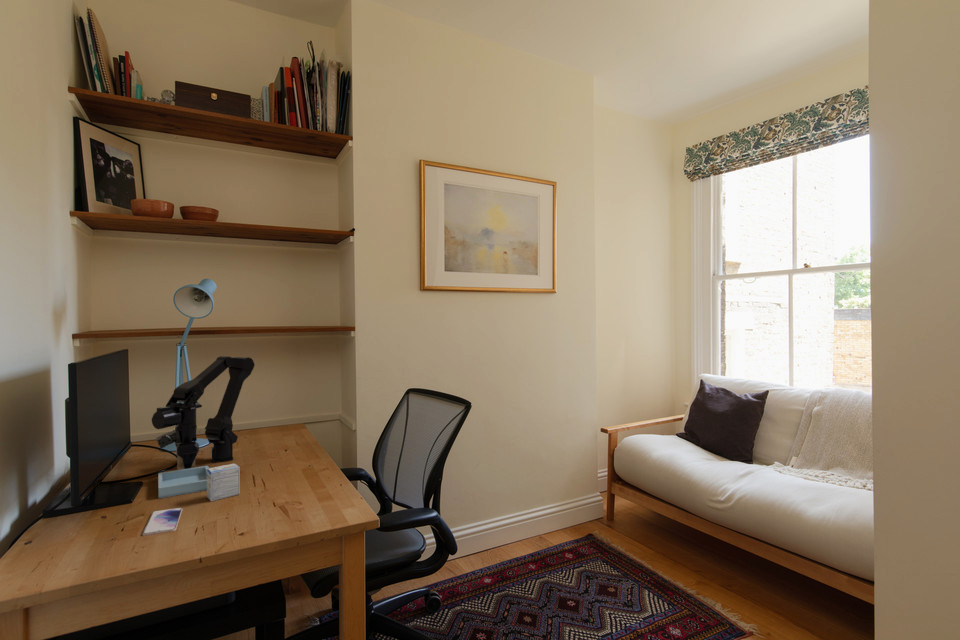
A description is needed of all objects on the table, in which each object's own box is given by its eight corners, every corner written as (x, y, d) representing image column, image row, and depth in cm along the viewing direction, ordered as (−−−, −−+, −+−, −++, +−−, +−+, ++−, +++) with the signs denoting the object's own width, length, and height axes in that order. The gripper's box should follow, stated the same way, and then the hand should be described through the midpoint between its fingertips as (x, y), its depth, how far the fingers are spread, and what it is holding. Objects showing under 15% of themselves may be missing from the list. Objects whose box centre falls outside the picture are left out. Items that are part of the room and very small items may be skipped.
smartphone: (182, 507, 133) (175, 529, 119) (182, 510, 133) (175, 532, 119) (152, 510, 130) (141, 534, 116) (152, 514, 130) (141, 537, 116)
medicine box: (235, 490, 146) (235, 462, 146) (239, 494, 143) (240, 466, 143) (206, 497, 141) (206, 468, 141) (210, 502, 138) (210, 472, 138)
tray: (208, 474, 161) (208, 465, 161) (212, 489, 148) (213, 479, 148) (158, 482, 153) (158, 473, 153) (158, 498, 140) (158, 488, 140)
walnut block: (194, 468, 167) (194, 451, 167) (195, 472, 163) (195, 454, 162) (177, 471, 164) (177, 453, 164) (178, 475, 160) (178, 457, 160)
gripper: (158, 420, 166) (157, 464, 166) (158, 431, 151) (158, 480, 151) (195, 416, 172) (194, 459, 173) (199, 427, 157) (198, 474, 157)
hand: (186, 467), depth 163 cm, fingers open, 9 cm apart
